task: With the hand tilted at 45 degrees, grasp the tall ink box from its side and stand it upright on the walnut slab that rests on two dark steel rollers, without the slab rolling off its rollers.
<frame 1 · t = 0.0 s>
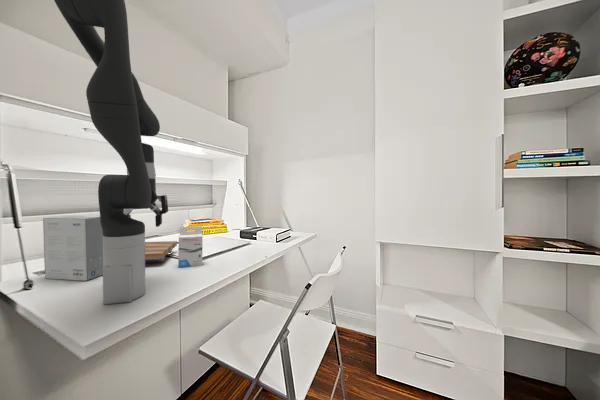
hand: (143, 226, 76), 17 cm above the table, tool pointing down, fingers open, 8 cm apart
hard drive box: (77, 276, 78), on the table
slab: (151, 249, 97), point 4 cm above the table, slide at 0.0 cm
ink box: (190, 265, 91), on the table
rollers: (151, 258, 97), on the table
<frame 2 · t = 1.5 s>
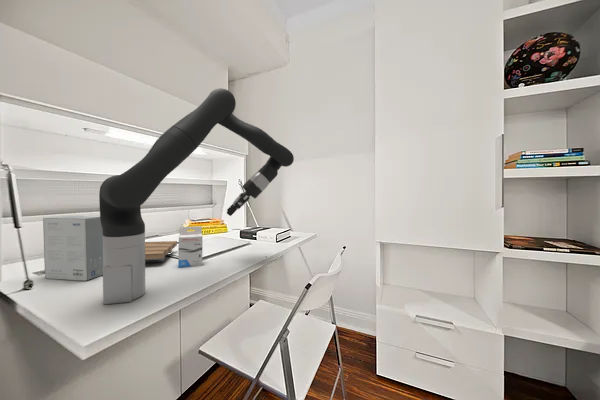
hand: (228, 213, 95), 20 cm above the table, tool tilted 45°, fingers open, 8 cm apart
nothing on the table moved.
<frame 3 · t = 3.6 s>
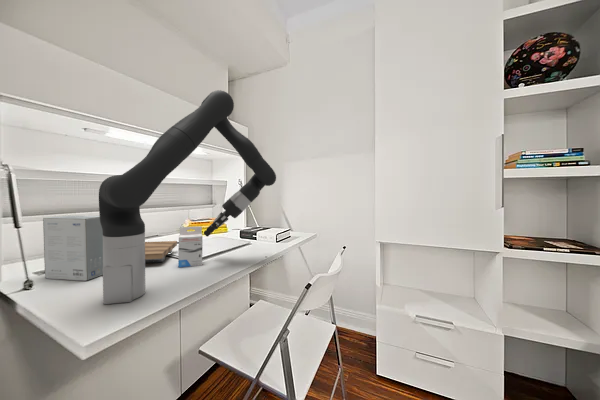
hand: (206, 232, 92), 12 cm above the table, tool tilted 45°, fingers open, 8 cm apart
nothing on the table moved.
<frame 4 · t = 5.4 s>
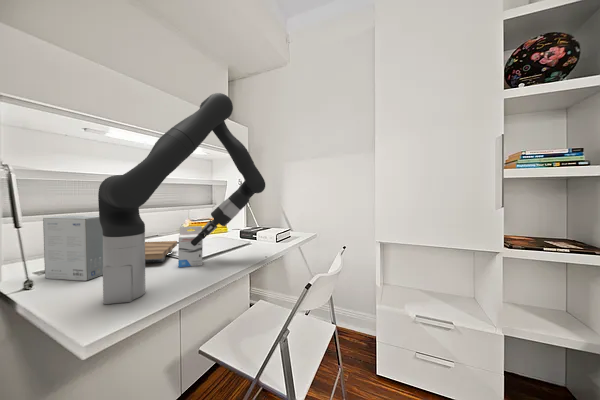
hand: (194, 242, 91), 9 cm above the table, tool tilted 45°, fingers closed on ink box, 5 cm apart
ink box: (190, 265, 91), on the table, touching gripper
everything else where it was.
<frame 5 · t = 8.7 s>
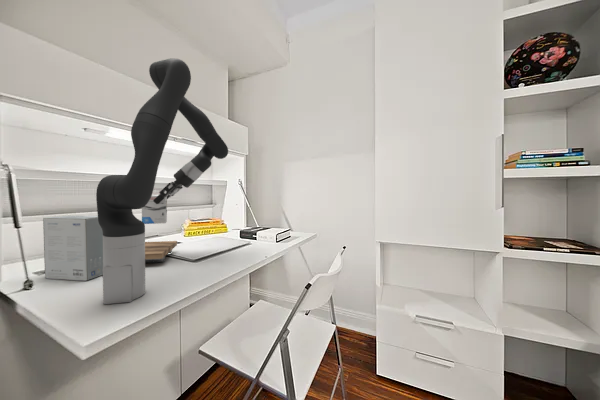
hand: (157, 202, 97), 24 cm above the table, tool tilted 45°, fingers closed on ink box, 5 cm apart
ink box: (154, 223, 97), point 15 cm above the table, touching gripper
everything else where it was.
when the fingers open (14 cm above the table, at t = 12.0 s): ink box stays where it is, resting on slab.
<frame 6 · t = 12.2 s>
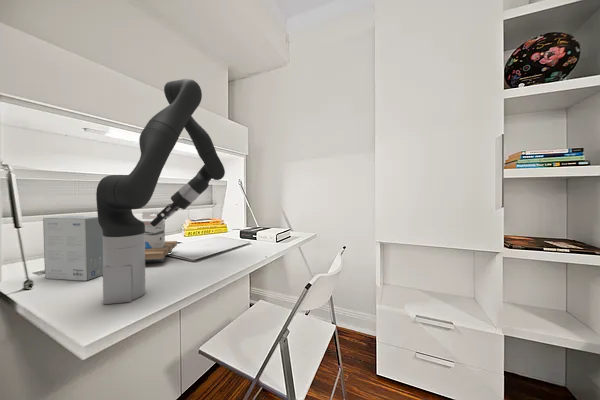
hand: (155, 223, 97), 15 cm above the table, tool tilted 45°, fingers open, 6 cm apart
slab: (151, 249, 97), point 4 cm above the table, slide at -0.1 cm, touching ink box
ink box: (152, 247, 97), point 5 cm above the table, touching slab
everything else where it was.
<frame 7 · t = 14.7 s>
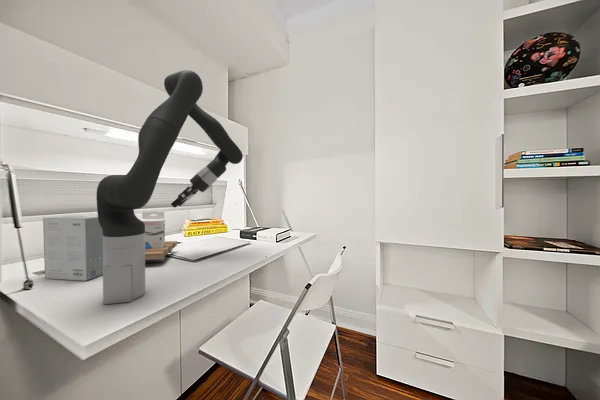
hand: (175, 205, 99), 23 cm above the table, tool tilted 45°, fingers open, 8 cm apart
nothing on the table moved.
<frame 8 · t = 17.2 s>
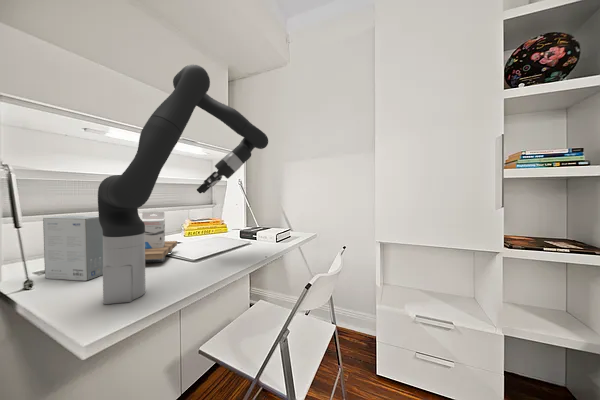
hand: (200, 191, 96), 29 cm above the table, tool tilted 45°, fingers open, 8 cm apart
nothing on the table moved.
at the end: ink box inside the target area on the slab (0.4 cm from its centre), point 1.8 cm above the slab's base; ink box tilted 0°; slab slide at -0.1 cm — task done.
